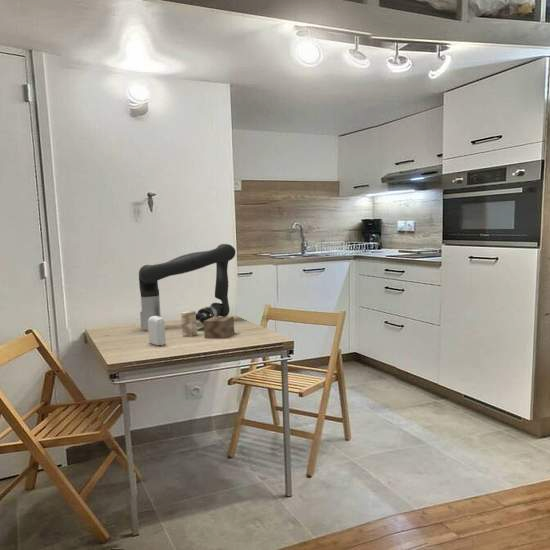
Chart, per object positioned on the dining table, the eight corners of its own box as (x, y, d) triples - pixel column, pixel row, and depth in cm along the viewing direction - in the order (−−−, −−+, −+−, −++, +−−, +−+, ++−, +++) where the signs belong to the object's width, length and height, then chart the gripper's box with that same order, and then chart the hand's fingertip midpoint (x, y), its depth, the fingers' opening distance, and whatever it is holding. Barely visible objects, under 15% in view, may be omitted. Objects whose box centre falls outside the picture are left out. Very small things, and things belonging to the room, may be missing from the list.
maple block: (182, 336, 219) (181, 313, 219) (187, 334, 224) (186, 311, 223) (192, 336, 218) (190, 313, 217) (196, 334, 223) (195, 311, 222)
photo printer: (147, 343, 207) (146, 315, 206) (156, 341, 210) (155, 314, 209) (158, 346, 199) (156, 317, 198) (167, 344, 202) (165, 316, 201)
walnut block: (204, 338, 213) (203, 321, 213) (214, 333, 225) (213, 316, 224) (225, 338, 211) (224, 321, 210) (234, 333, 222) (233, 316, 222)
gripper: (194, 307, 242) (179, 312, 226) (219, 307, 238) (206, 312, 222) (194, 321, 242) (180, 327, 227) (220, 321, 238) (207, 327, 223)
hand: (193, 319), depth 225 cm, fingers open, 8 cm apart
